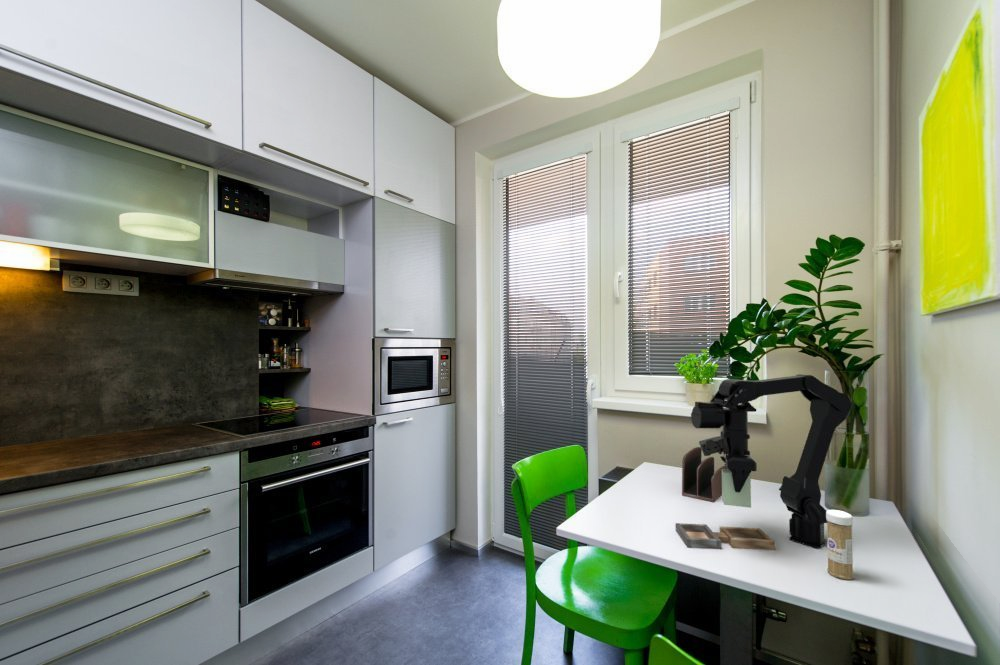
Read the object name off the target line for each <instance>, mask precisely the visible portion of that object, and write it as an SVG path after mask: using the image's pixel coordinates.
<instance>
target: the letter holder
mask: <svg viewBox="0 0 1000 665" xmlns="http://www.w3.org/2000/svg"><path fill="white" fill-rule="evenodd" d="M702 454H703V452H702V449H701V447H700V446H696V447H693V448H692V449H690V450H689V451H687V453H685V454H684V455H683V457H682V461H681V462H682V464H681V465H682V466H681V495H682V496H683V497H687V498H691V499H695V500H700V501H705V502H706V501H707V502H710V503H714V502H715V501H716V500H718V498H719V497H720V496H722V469H728V468H726V466H725V465H723V466H721V467H719V468H718V469H716V471H715V457H714V456H708V457H707V458H705V459H704V460H702Z"/></svg>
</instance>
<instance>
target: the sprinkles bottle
mask: <svg viewBox="0 0 1000 665" xmlns="http://www.w3.org/2000/svg"><path fill="white" fill-rule="evenodd" d="M826 519H827V523H826V524H827V526H826V527H827V528H826V532H827V536H826V537H827V542H826V547H827V548H826V550H827V551H826V552H827V556H826V557H827V573H829V574H830V575H831V576H832V577H835V578H836V579H837V578H838V579H840V580H846V581H847V580H852V579H854V571H853V568H854V567H853V564H854V563H853V562H854V559H853V558H854V556H853V553H854V552H853V550H854V549H853V536H852V535H853V533H852V532H853V531H852V530H853V529H852V527H853V524H854V523H853V522H854V521H853V515H852V514H851V513H848V512H847V511H843V510H838V509H828V510H827V509H826Z"/></svg>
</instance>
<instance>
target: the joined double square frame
mask: <svg viewBox="0 0 1000 665" xmlns="http://www.w3.org/2000/svg"><path fill="white" fill-rule="evenodd" d="M675 532H676V533H677V535H678V536H679V537H680V539H681V541H682V543H684V545H685V546H686V548H690V549H709V550H710V549H712V550H713V549H714V550H722V544H728V546H730V547H731V548H732V549H744V550H765V551H776V541H775V540H773V538H771V536H769V535H768V534H767V533H765V531H763V530H762V529H761V528H759V527H742V526H741V527H739V526H719V531H713V530H712V529H711V527H709V526H708V525H707V524H704V523H702V524H701V523H680V522H679V523H678V522H675ZM735 537H736V538H735ZM738 537H739V538H738ZM740 537H741V538H740ZM756 538H757V539H756Z"/></svg>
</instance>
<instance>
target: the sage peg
mask: <svg viewBox="0 0 1000 665" xmlns="http://www.w3.org/2000/svg"><path fill="white" fill-rule="evenodd" d="M751 480H752V478H751V474H750V475H749V476H748V478H747V480H746V482H745V484H744V486H743V488H742V490H741V492H740V493H739V492H735V489H734V484H733V479H732V474H731V471H730V470H728V469H722V494H721V500H722V503H723V505H725V506H733V507H742V508H752V492H751V488H752V487H751V486H752V484H751V482H752V481H751Z"/></svg>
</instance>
